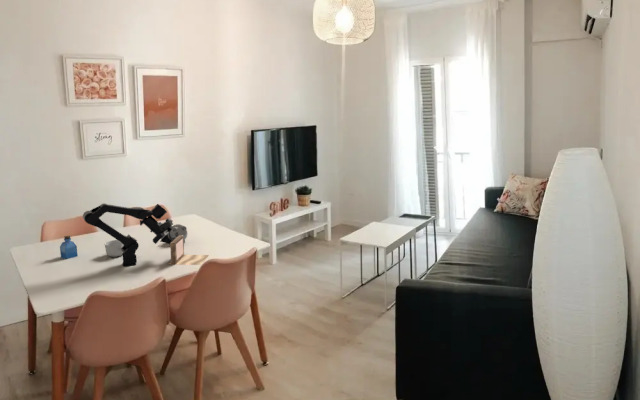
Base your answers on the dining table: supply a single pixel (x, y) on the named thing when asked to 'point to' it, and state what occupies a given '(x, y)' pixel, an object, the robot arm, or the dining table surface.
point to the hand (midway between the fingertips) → (174, 244)
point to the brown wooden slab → (177, 249)
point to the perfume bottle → (68, 248)
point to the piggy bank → (179, 231)
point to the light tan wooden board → (192, 260)
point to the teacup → (114, 248)
